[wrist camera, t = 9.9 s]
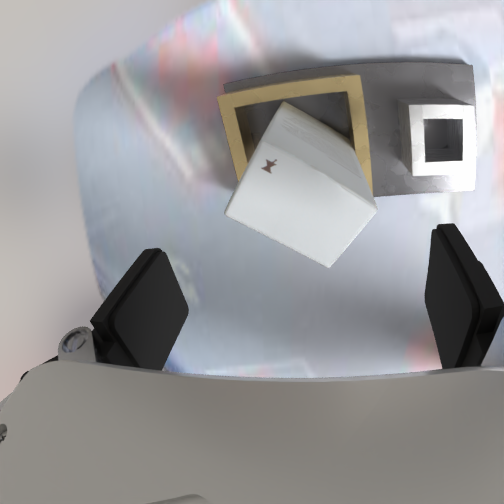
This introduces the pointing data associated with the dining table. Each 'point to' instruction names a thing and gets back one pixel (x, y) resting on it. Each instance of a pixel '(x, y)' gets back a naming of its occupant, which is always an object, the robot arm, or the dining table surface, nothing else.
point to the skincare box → (304, 188)
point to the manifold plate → (372, 119)
